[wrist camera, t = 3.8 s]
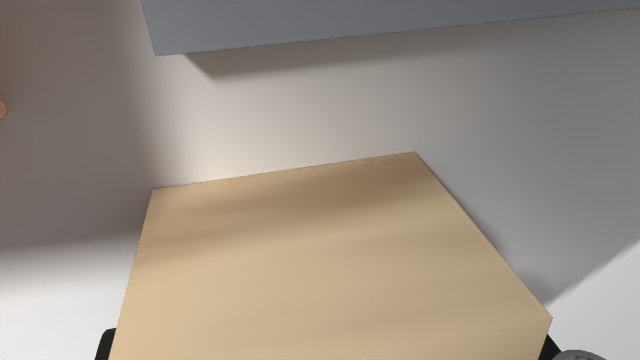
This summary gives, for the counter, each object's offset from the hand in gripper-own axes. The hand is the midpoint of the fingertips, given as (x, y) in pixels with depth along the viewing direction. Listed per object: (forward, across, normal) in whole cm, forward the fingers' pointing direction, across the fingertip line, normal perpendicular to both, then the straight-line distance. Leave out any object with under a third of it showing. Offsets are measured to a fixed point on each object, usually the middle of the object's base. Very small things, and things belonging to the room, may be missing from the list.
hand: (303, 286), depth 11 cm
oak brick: (+1, 0, 0) cm, 1 cm away
